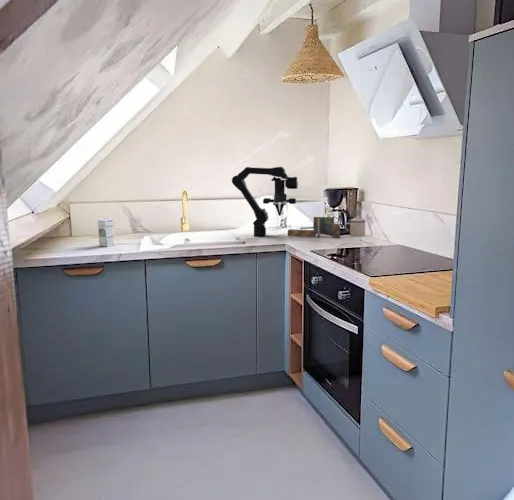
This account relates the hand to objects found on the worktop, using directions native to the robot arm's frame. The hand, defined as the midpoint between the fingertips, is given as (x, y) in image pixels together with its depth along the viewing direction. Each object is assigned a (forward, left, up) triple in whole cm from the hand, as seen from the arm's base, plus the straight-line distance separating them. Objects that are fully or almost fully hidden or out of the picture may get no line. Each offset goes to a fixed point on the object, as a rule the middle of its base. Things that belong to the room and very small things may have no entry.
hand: (279, 215), depth 292 cm
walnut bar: (+13, 0, -12) cm, 18 cm away
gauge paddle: (+23, +3, -12) cm, 26 cm away
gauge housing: (+27, +3, -12) cm, 30 cm away
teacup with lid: (+44, +7, -12) cm, 46 cm away
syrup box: (-89, -39, -12) cm, 98 cm away
